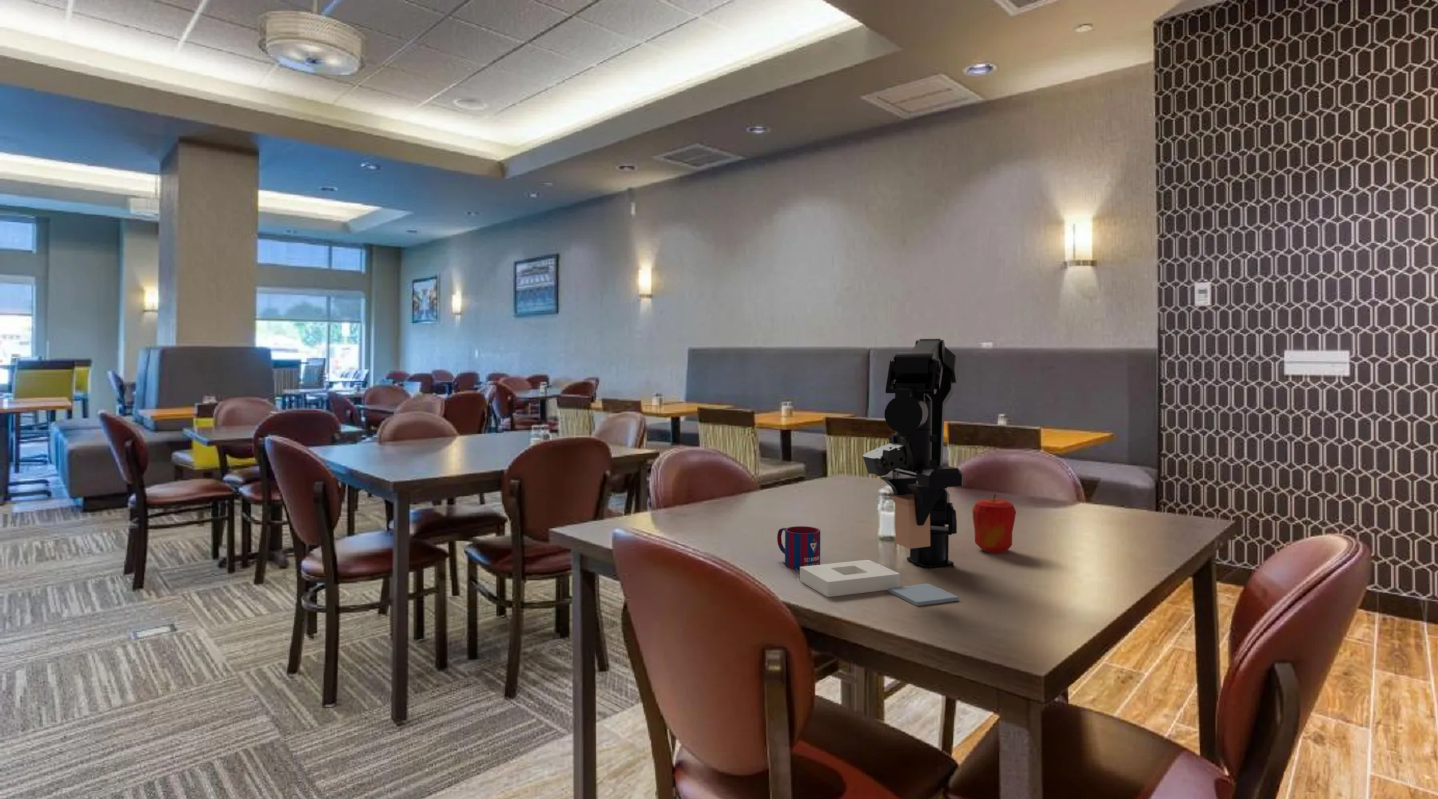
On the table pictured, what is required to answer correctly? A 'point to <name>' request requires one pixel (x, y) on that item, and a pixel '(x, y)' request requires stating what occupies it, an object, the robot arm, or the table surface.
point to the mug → (800, 546)
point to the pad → (923, 594)
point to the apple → (993, 524)
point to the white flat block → (849, 577)
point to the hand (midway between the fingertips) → (912, 522)
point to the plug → (909, 524)
